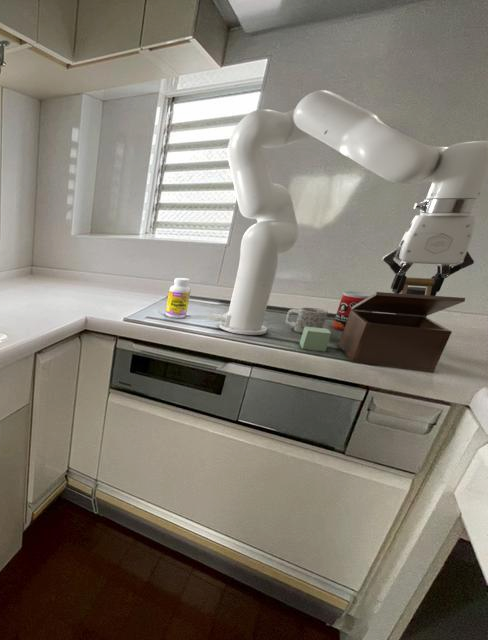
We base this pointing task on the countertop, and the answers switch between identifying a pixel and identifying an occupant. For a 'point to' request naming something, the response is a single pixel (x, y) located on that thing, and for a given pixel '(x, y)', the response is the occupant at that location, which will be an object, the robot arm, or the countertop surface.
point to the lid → (408, 300)
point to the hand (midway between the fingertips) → (412, 292)
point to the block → (315, 338)
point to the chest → (394, 340)
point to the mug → (307, 318)
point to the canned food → (348, 307)
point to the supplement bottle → (178, 298)
